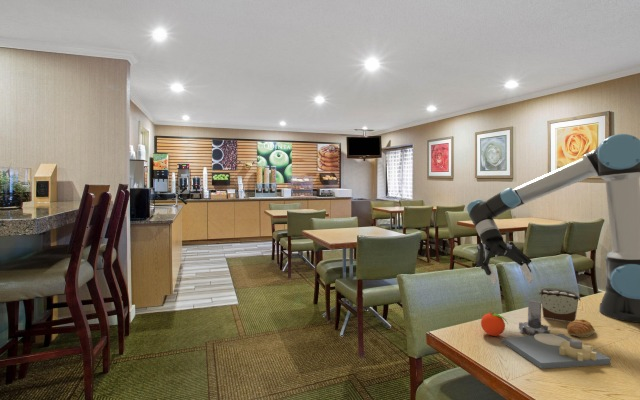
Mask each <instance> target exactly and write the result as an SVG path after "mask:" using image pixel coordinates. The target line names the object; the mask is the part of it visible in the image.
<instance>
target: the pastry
mask: <svg viewBox="0 0 640 400" xmlns="http://www.w3.org/2000/svg"><path fill="white" fill-rule="evenodd" d="M566 327H567V328H566V329H567V332H568V333H567V334H568V335H570V336H575V337H579V338H586V337H587V338H588V337H590V336H592V335H593V334H594V333H595V331H596V329H595V327H594V325H592V323H591V322H589V321H588V320H586V319H583V318H581V319H577V318H576V319H575V320H574V321H572V322H568V324H567V326H566Z"/></svg>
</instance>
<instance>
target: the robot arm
mask: <svg viewBox="0 0 640 400" xmlns="http://www.w3.org/2000/svg"><path fill="white" fill-rule="evenodd" d="M591 177H596V178H598V177H599V178H600V179H602V180H603V181H604V182H605V189H606V201H607V210H608V218H609V219H608V221H609V230H610V240H611V241H610V242H611V249H612V250H611V251H609V252H607V254H606V258H605V266H606V268H605V273H606V274H605V293H604V294H603V297H602V299H601V302H600V303H599V310H598V311H599V312H600V313H601V314H602V315H604V316H606V317H610V318H613V319H617V320H621V321H626V322H633V323H640V139H639V138H638V137H636V136H634V135H632V134H630V133H629V134H627V133H619V134H618V133H617V134H614V135H610V136H608V137H606V138H605V139H603V140H602V141H601V142H600V143H599V145H598V146H597V147H596V148H594V149H592V150H591V151H589V152H587V153H585V154H583V156H582V157H581V158H579V159H577V160H575V161H573V162H571V163H569V164H567V165H564V166H562V167H559V168H557V169H556V170H553V171H551V172H549V173H546V174H544V175H542V176H541V175H540V177H537V178H535V179H533V180H530V181H528V182H526V183H523V184H522V185H519V186H517V187H514V188H512V187H507V188H506V189H503V190H502V191H500V192H498V193H497V194H495V195H493V196H492V197H490V198H488V199H486V200H485V201H484V200H483V199H476V200H472V201H470V202H469V203H468V204H467V206H466V211H467V213H468V216H469V218H470V220H471V222H472V223H473V226H474V228H475V230H476V232H477V234H478V236H479V239H480V240H481V242H479V243H478V244H477V246H476V248H477V258H476V266H477V267H478V268H481V270H484V273H485V274H486V276H488V277H489V280H490V282H491V283H492V285H495V284H496V283H497V282H498V281H499V279H498V277H497V274H496V272H495V271H494V269H493V267H492V264H489V262H490V260H491V258H492V256H493V255H494V256H504V257H507V258H508V259H510V260H512V261H513V262H515V263H516V264H517V265H519V266H520V270H521V271H522V274H523V275H524V278H525V280H526V281H527V283H528V284H531V283H533V281H534V280H535V278H534V275H533V274H532V270H531V268H530V266H529V265H530V264H531V263H532V259H531V258H529V257H528V256H527V255H526V254H525V253H523V252H522V251H521V250H520V249H519V247H517V246H516V245H515V244H514V242H513V241H510V242H509V243H506V242H505V241H504V237H503V235H502V233H501V231H500V229H499V227H498V225H497V224H496V222H495V220H494V219H495V218H497V217H498V216H500V215H502V214H504V213H506V212H508V211H511V210H515V209H517V208H518V207H520V206H523V205H525V204H528V203H529V202H532V201H535V200H538V199H539V198H543V197H544V196H547V195H550V194H552V193H554V192H557V191H560V190H562V189H564V188H567V187H569V186H571V185H573V184H577V183H579V182H581V181H583V180H586V179H589V178H591ZM484 250H486V251H487V254H486V256H485V258H484Z"/></svg>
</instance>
